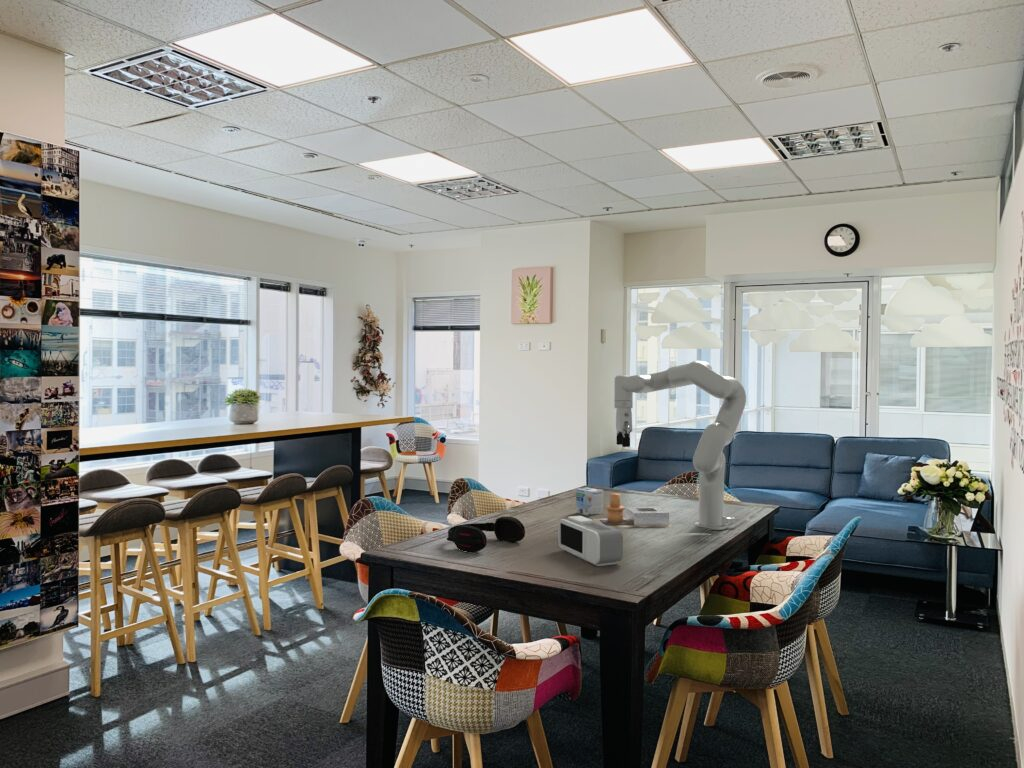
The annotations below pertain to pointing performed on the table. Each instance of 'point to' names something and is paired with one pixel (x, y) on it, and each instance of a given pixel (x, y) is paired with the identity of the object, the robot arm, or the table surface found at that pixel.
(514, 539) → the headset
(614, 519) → the end cover
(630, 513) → the plate
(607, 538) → the alarm clock
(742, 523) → the table surface
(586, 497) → the light bulb box
